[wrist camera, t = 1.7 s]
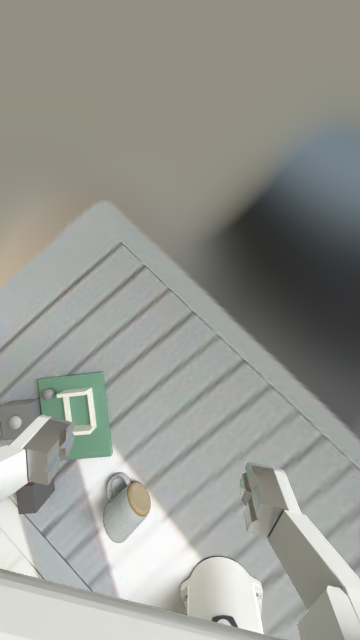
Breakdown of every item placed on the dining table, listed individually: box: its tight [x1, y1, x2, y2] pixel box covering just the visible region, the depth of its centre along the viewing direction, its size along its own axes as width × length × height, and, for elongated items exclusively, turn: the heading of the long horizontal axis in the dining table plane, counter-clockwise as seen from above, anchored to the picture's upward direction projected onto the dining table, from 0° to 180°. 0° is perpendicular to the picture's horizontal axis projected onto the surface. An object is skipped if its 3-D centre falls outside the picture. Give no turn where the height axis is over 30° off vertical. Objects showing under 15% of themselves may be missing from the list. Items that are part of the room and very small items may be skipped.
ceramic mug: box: [103, 473, 151, 543], centre depth 45 cm, size 11×8×8 cm
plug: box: [16, 479, 55, 514], centre depth 47 cm, size 7×4×6 cm, turn 7°
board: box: [38, 371, 113, 460], centre depth 48 cm, size 20×16×4 cm
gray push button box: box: [0, 399, 42, 440], centre depth 49 cm, size 8×8×4 cm
